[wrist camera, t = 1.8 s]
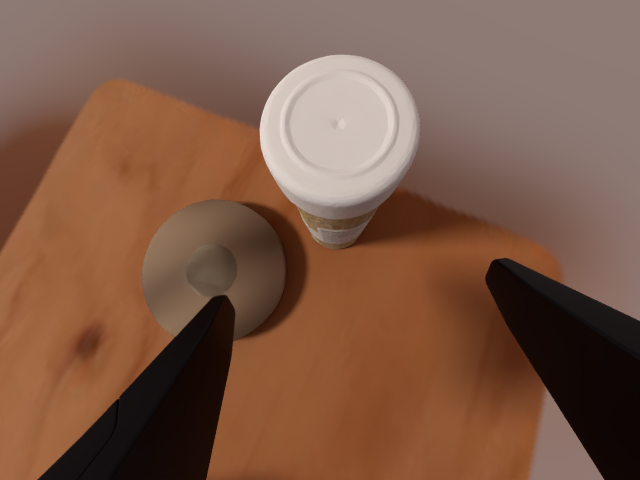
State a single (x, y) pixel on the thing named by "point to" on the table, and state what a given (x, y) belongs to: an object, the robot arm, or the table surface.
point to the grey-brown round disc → (214, 265)
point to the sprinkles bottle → (339, 142)
